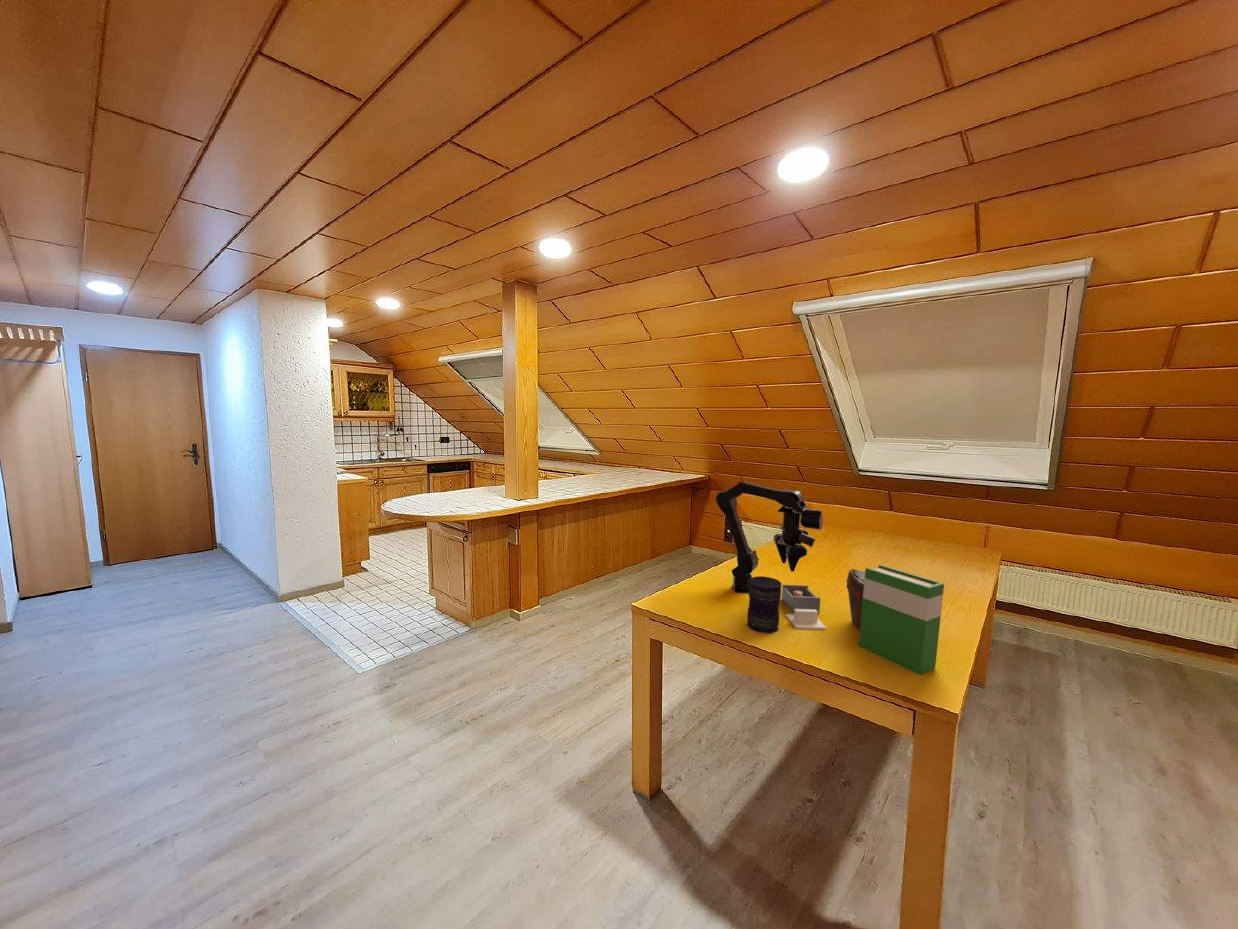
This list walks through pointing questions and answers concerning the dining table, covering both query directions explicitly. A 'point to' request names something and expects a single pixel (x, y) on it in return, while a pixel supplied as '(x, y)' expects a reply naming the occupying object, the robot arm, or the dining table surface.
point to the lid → (805, 619)
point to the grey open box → (799, 598)
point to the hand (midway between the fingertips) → (787, 567)
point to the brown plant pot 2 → (856, 595)
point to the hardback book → (901, 617)
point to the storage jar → (764, 604)
